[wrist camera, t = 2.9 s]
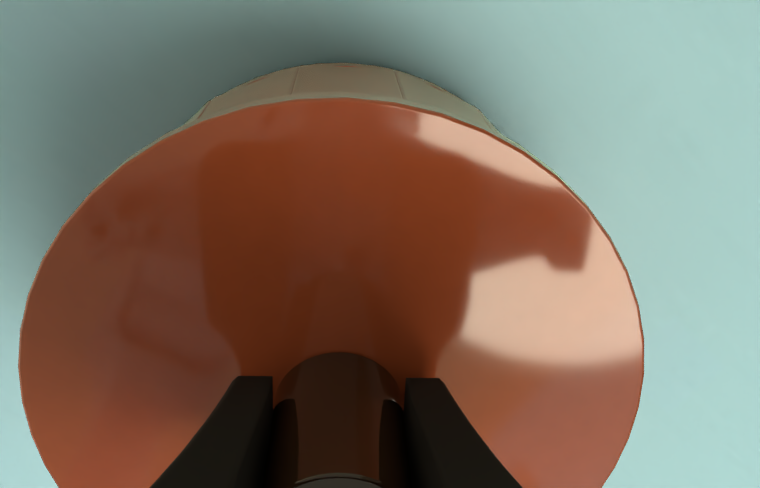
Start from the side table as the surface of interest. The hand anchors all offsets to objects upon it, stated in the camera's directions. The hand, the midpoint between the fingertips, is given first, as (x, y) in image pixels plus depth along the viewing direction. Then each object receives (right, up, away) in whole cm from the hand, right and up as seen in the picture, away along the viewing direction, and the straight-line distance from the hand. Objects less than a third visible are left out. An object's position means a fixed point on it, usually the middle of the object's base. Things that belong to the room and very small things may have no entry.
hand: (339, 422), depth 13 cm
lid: (0, 0, +1) cm, 1 cm away
